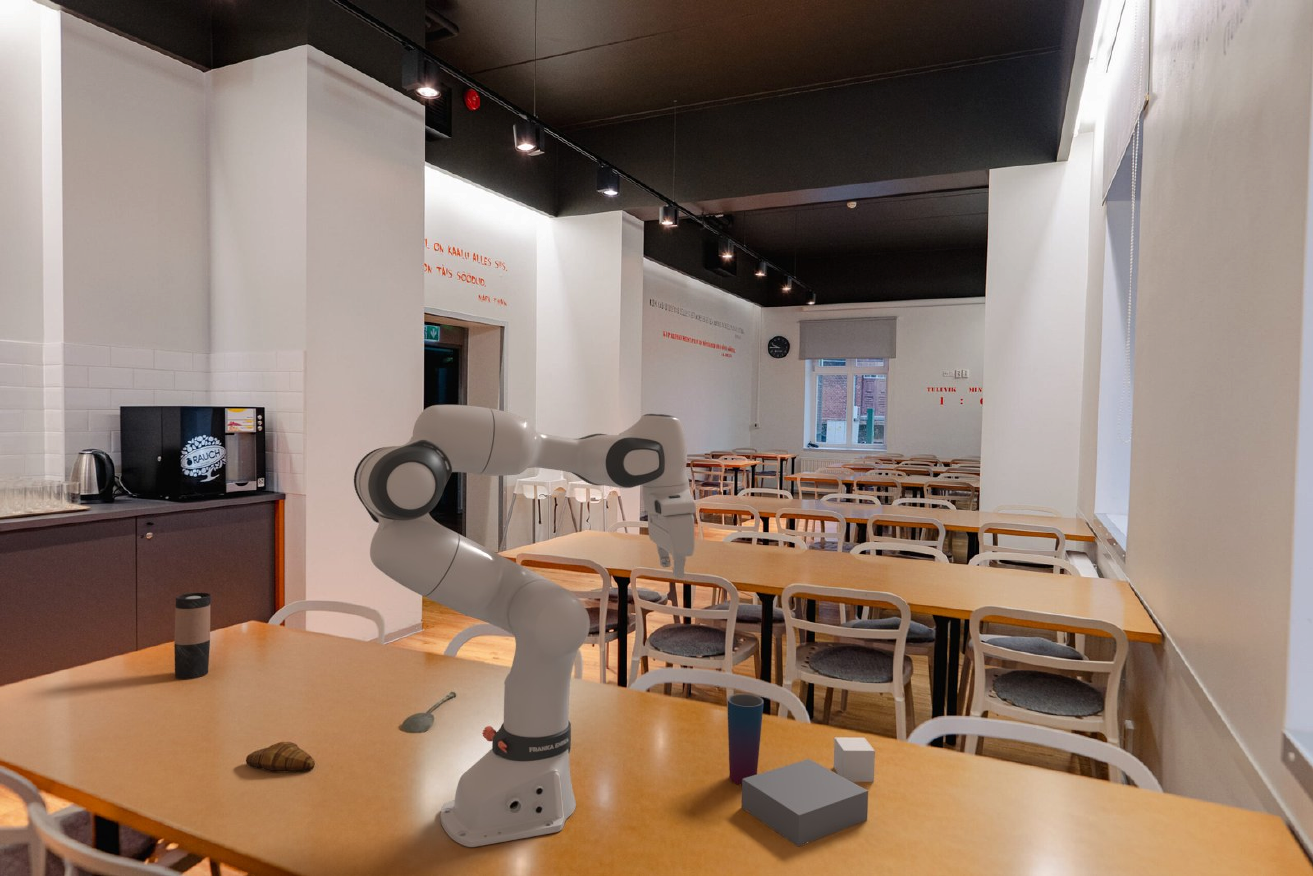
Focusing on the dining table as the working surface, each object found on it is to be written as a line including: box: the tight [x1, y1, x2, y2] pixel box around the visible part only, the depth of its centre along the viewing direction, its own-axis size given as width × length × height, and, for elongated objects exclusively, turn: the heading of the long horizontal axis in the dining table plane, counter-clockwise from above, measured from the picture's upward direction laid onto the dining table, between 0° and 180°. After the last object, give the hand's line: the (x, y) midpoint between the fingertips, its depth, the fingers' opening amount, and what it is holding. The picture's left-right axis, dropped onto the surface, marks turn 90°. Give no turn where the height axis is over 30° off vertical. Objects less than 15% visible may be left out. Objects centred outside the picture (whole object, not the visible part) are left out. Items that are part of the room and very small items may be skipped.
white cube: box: [833, 736, 876, 783], centre depth 142 cm, size 6×6×6 cm
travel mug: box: [173, 592, 211, 680], centre depth 187 cm, size 8×8×20 cm
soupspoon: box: [400, 691, 457, 734], centre depth 166 cm, size 22×3×7 cm
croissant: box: [245, 741, 316, 773], centre depth 139 cm, size 14×7×5 cm, turn 82°
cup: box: [726, 693, 765, 786], centre depth 139 cm, size 7×7×15 cm
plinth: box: [740, 758, 869, 847], centre depth 127 cm, size 16×14×5 cm
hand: (671, 571), depth 140 cm, fingers open, 8 cm apart
